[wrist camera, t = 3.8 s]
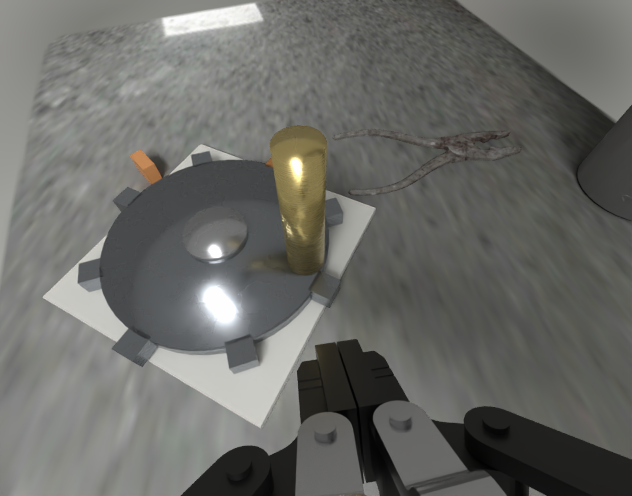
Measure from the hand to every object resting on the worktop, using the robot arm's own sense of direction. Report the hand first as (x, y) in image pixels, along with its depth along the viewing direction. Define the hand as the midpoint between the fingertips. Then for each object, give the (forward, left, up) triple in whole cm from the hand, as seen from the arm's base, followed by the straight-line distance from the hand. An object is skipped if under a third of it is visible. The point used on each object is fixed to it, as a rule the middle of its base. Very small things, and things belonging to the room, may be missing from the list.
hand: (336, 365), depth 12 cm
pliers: (-28, -2, -13) cm, 31 cm away
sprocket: (-7, -13, -11) cm, 19 cm away
